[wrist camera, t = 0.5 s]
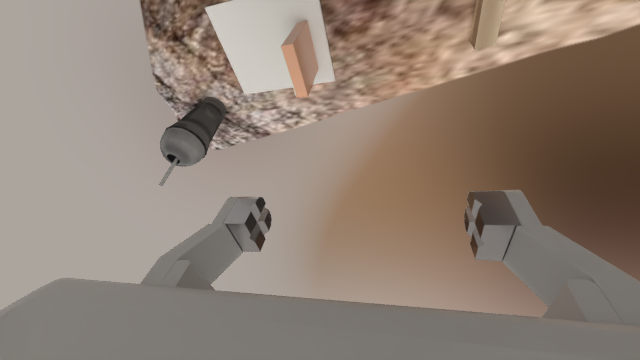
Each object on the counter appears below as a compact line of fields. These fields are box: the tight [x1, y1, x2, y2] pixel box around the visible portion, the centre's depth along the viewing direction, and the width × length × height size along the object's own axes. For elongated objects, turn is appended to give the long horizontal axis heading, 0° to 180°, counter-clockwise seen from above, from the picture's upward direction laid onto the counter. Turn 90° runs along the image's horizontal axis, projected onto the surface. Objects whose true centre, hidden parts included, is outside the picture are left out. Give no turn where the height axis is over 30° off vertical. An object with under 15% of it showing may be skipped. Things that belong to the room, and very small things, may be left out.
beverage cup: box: [159, 97, 226, 186], centre depth 46 cm, size 7×7×20 cm
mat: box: [205, 0, 335, 94], centre depth 42 cm, size 14×17×1 cm
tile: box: [280, 20, 319, 98], centre depth 37 cm, size 7×2×9 cm, turn 13°
